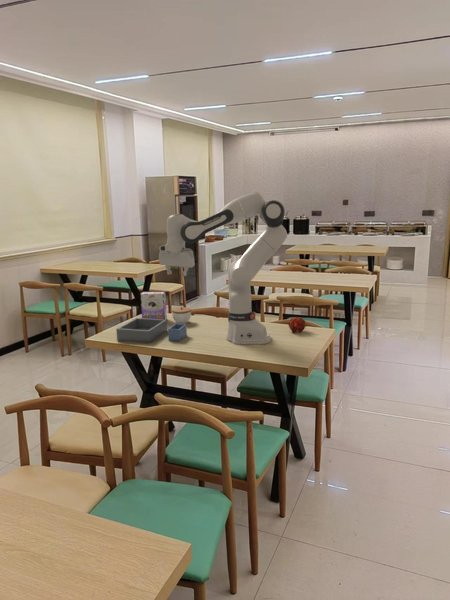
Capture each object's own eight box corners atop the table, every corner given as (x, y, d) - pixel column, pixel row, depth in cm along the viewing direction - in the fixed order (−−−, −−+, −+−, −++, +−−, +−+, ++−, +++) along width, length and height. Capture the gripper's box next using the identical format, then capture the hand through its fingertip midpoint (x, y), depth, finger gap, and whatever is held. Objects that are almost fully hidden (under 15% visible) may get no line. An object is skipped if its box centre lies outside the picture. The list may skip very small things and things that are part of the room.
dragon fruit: (301, 331, 253) (295, 340, 243) (288, 321, 254) (282, 330, 244) (310, 320, 249) (304, 329, 238) (297, 310, 250) (291, 319, 239)
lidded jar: (171, 320, 273) (171, 305, 271) (190, 319, 274) (189, 304, 272) (173, 325, 262) (172, 309, 260) (192, 324, 264) (191, 308, 262)
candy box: (167, 318, 277) (165, 291, 274) (164, 321, 272) (163, 293, 268) (144, 318, 279) (142, 291, 275) (141, 321, 273) (140, 293, 269)
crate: (167, 330, 253) (166, 319, 252) (149, 342, 232) (149, 331, 231) (136, 328, 258) (136, 317, 257) (117, 340, 237) (116, 328, 236)
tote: (186, 335, 244) (186, 324, 242) (179, 341, 234) (179, 329, 233) (175, 334, 245) (175, 323, 244) (168, 340, 236) (168, 328, 235)
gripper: (196, 247, 229) (197, 275, 232) (164, 245, 240) (165, 272, 243) (189, 249, 224) (189, 277, 227) (156, 246, 234) (157, 274, 238)
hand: (177, 275), depth 235 cm, fingers open, 8 cm apart
